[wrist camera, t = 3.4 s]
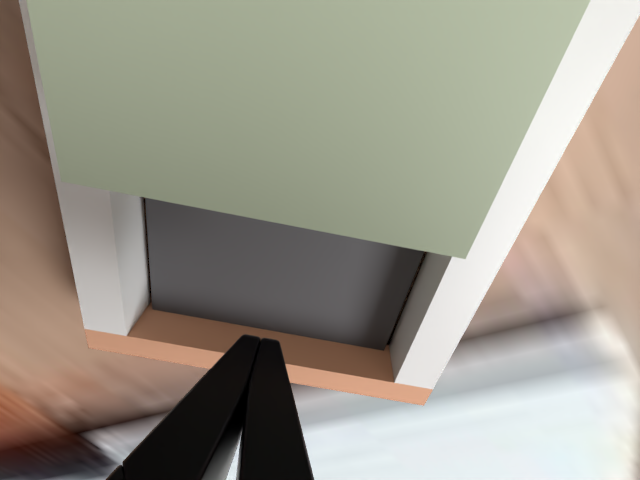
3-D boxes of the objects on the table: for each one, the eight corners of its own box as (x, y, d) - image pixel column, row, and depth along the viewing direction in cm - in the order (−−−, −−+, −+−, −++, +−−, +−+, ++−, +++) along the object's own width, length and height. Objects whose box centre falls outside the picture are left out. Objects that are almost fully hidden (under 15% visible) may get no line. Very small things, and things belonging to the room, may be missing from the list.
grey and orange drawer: (115, 313, 12) (88, 347, 11) (92, 144, 9) (51, 163, 8) (415, 366, 13) (424, 405, 11) (485, 223, 10) (507, 253, 8)
